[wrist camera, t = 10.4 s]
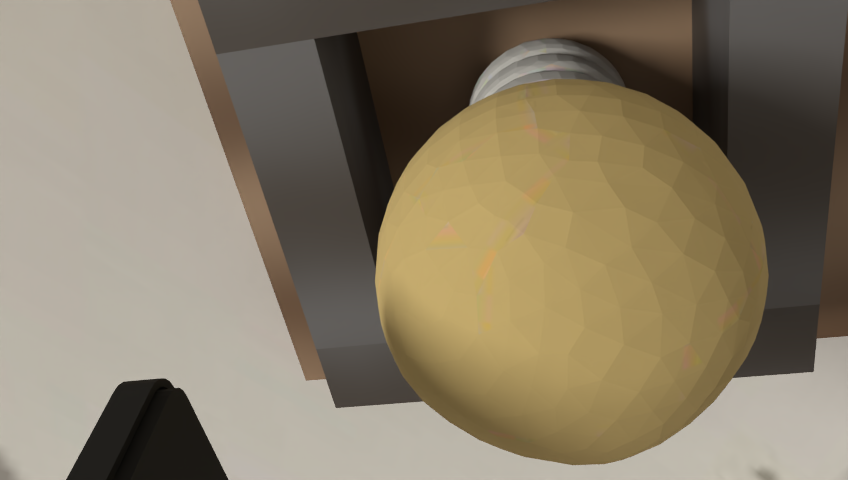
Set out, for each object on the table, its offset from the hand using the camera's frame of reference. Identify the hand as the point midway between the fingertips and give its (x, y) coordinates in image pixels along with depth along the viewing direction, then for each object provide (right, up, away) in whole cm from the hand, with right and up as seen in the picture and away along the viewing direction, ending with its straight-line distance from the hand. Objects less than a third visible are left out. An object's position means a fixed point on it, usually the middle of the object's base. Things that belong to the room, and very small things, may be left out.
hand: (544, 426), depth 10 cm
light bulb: (+1, +6, +9) cm, 11 cm away
